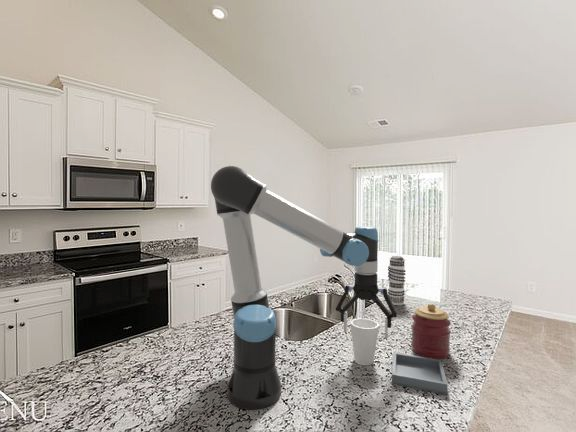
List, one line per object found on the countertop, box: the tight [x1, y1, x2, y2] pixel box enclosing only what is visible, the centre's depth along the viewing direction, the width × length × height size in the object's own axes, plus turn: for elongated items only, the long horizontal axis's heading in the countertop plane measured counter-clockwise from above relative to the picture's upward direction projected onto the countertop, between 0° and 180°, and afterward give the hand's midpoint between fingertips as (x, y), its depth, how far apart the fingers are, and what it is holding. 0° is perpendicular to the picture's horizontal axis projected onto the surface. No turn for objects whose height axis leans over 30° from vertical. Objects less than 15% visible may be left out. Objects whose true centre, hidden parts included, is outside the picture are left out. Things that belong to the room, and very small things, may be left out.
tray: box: [391, 352, 448, 396], centre depth 101 cm, size 15×15×3 cm
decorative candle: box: [387, 255, 406, 306], centre depth 174 cm, size 9×9×25 cm
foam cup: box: [350, 317, 380, 366], centre depth 110 cm, size 10×9×13 cm
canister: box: [410, 303, 452, 360], centre depth 118 cm, size 13×13×18 cm
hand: (365, 333), depth 110 cm, fingers open, 13 cm apart
